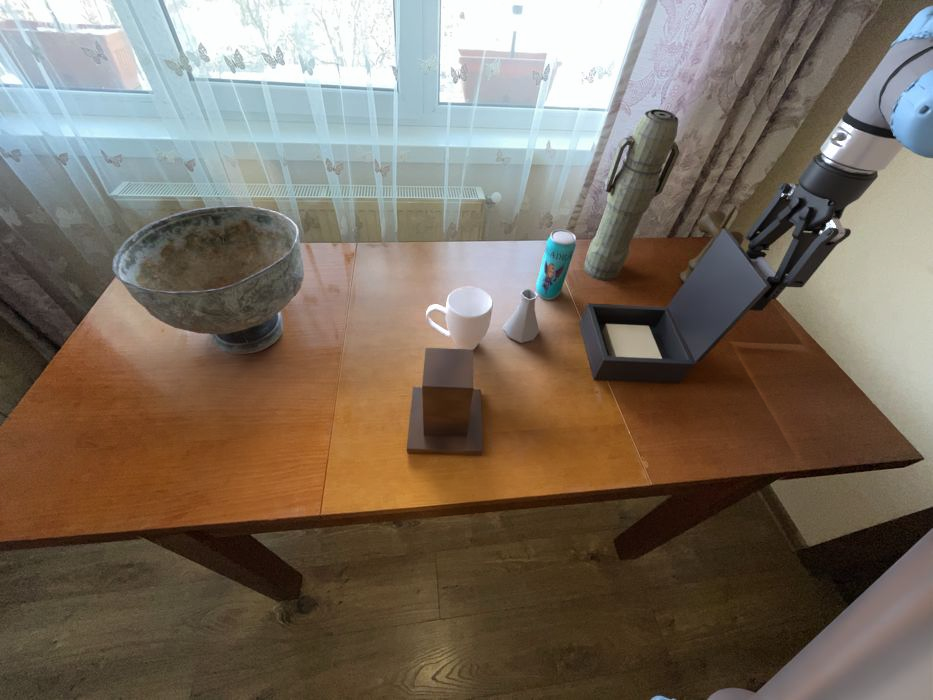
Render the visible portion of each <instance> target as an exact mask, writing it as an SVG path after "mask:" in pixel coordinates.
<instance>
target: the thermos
mask: <svg viewBox="0 0 933 700" xmlns="http://www.w3.org/2000/svg"><path fill="white" fill-rule="evenodd" d="M678 129H679V118H678V116H676V114H675V113H673V112H671V111H669V110H665V109H660V108H659V109H658V108H657V109H656V108H653V109H650V110H647V111H645V112H644V113H643V115H642V116H641V118H640V119H639V121H638V122H637V124H636V125H635V127H634V129H633V132H632V135H628V137H624V138H623V139H622V140H621V141H620V142H619V143H618V144H617V146H616V149H615V152H614V155H613V159H612V161H611V164H610V167H609V170H608V173H607V176H606V179H605V183H604V187H603V190H604V191H605V192H606V193H607V196H606V201H607V203H606V205H605V209H604V211H603V214H602V217H601V220H600V222H599V225H598V228H597V231H596V234H595V236H594V237H593V238H592V240H591V241H590V244H589V246H588V250H587V252H586V255H585V261H584V263H583V270H584V272H585V273H587V274H588V276H590V277H592V278H593V279H597V280H600V281H612V280H615V279H617V277H618V276H619V274H620V271H621V269H623V266H624V265H625V262H626V260H627V257H628V256H629V253H630V245H631V242H632V240H633V238H634V236H635V233H636V231H637V229H638V227H639V224H640V222H641V219H642V217H643V215H644V214H645V213H646V212H647V211H648V209H649V207H650V205H651V203H652V200H654V198H655V197H658V196H659V195H660V194H662V193H663V190H664V188H665V186H666V184H667V182H668V179H669V178H670V175H671V173H672V171H673V169H674V167H675V164H676V162H677V160H678V158H679V156H680V150H679V149H680V148H679V146H678V144H677V142H676V141H675V140H676V138H677V135H678ZM626 148H627V149H626ZM625 149H626V152H625V158H624V159H623V160H622V163H621V166H620V167H619V165H620V162H621V159H622V156H623V153H624V151H625ZM663 165H664V167H663ZM618 167H619V169H618Z"/></svg>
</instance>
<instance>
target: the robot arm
mask: <svg viewBox="0 0 933 700" xmlns="http://www.w3.org/2000/svg"><path fill="white" fill-rule="evenodd" d="M903 148H905V149H907V150H909V151H910V152H912V153H913V154H915V155H917V156H920V157H924V158H926V159H927V158H928V159H933V5H930V6H926V7H925V8H923V9H921V10H920V11H919V12H918V13H916V14H915V16H914V17H912V20H911V21H910V22H909V23H908V24H907V26H906V27H905V28H904V29H903V31H902V32H901V33H900V35H898V37H897V38H896V39H895V40H894V41H893V42H892V43H891V45H890V46H889V50H888V51H887V53H885V55H884V57H883V58H882V59H881V61H880V62H879V64H878V66H877V67H876V68H875V70H874V71H873V73H872V74H871V76H869V78H868V80H867V81H866V83H864V85H863V87H862V88H861V90H860V91H859V92H858V94H857V95H856V97H855V98H854V100H853V101H852V103H851V104H850V105H849V107H848V108H847V110H846V111H845V113H844V114H843V115H842V116H841V119H840V120H839V121H838V123H837V124H836V126H835V127H834V128H833V129H832V131H831V132H830V134H829V135H828V136H827V138H826V139H825V141H824V142H823V144H822V145H821V146H820V148H819V149H820V152H819V153H818V154H816V155H814V156H813V157H812V159H811V160H810V161H809V163H808V164H807V166H806V167H805V169H804V170H803V171H802V173H801V174H800V176H799V177H798V183H788V182H781V183H780V184H779V185H778V188H777V190H776V192H775V194H774V196H773V198H772V199H771V201H770V202H769V203H768V205H767V206H766V208H765V209H764V210H763V211H762V213H761V214H760V215H759V217H758V218H757V219H756V220H755V222H754V223H753V225H752V226H751V228H750V229H749V230H748V232H746V234H745V236H744V237H745V240H746V241H748V242H749V243H748V245H747V248H748V249H747V250H746V251H745V252H746V254H747V255H748V256H749V258H750V259H757V258H759V257H764V258H766V256H767V253H766V252H765V251H770V246H771V245H773V244H774V243H775V242H776V241H778V240H779V239H780V238H781V237H782V236H784V235H785V234H786V233H787V232H788V231H790V230H791V229H792V228H793V227H794V229H793V230H792V233H791V236H792V240H791V242H790V243H789V246H788V248H787V249H786V252H785V254H784V256H783V257H782V259H781V262H780V264H779V266H778V268H777V270H776V274H775V276H774V277H768V278H767V279H766V280H767V281H768V283H769V284H770V285H771V287H770V288H769V289H768V290H767V292H766V293H765V294H764V295H763V296H762V297H761V298H760V299H759V300H758V301H757V302H756V303H755V304H754V305H753V306H752V307H751V308H750V310H749V311H763V310H765V308H766V307H767V305H768V304H769V303H770V302H771V301H772V300H776V299H777V298H778V297H779V296H780V295H781V294H782V293H783V291H785V289H786V288H804V287H805V285H806V284H807V282H808V281H809V280H810V279H811V277H812V276H813V275H814V274H815V273H816V271H818V269H819V268H820V266H821V265H822V264H823V263H824V261H826V259H827V258H828V256H830V254H831V253H832V251H834V249H835V248H836V247H837V246H838V245H839V244H840V243H842V242H843V241H845V240H846V239H847V238H848V237H850V235H851V233H852V230H851V229H850V228H848V227H847V228H846V227H843V225H842V223H841V221H840V219H841V218H842V216H843V213H844V211H845V209H846V208H847V207H848V206H849V205H851V204H852V203H854V202H856V201H858V200H859V199H860V198H861V197H862V196H863V195H864V193H865V192H866V191H867V190H868V189H869V188H870V187H871V185H872V184H873V183H874V182H875V181H876V180H877V178H878V176H879V174H878V173H879V171H883V170H886V168H887V167H888V166H889V165H890V164H891V163H892V161H893V160H894V159H895V158H896V157H897V155H898V154H899V153H900V151H901V150H902V149H903ZM650 700H677V699H676V698H671V699H670V698H668V697H666V696H663V695H655V696H654V697H652V698H650ZM706 700H933V527H932V528H931V529H930V530H929V531H927V533H926V534H925V535H923V536H922V537H921V538H920V539H919V540H918V541H917V542H915V544H914V545H912V546H911V548H910V549H908V550H907V551H906V552H905V553H904V554H903V555H902V556H901V557H900V558H899V559H898V560H896V561H895V562H894V564H892V565H891V566H890V567H889V568H888V569H887V570H886V571H885V572H884V573H883V574H881V576H880V577H879V578H877V579H876V580H874V582H873V583H872V584H871V585H870V586H869V587H867V589H865V590H864V592H863V593H861V594H860V595H859V596H858V597H857V598H856V599H855V600H854V601H853V602H851V603H850V604H849V605H848V606H847V607H846V608H845V609H844V610H843V611H842V612H841V613H840V614H839V615H837V617H835V618H834V620H832V621H831V622H830V623H829V624H828V625H827V626H826V627H825V628H824V629H822V631H820V633H818V635H817V634H816V636H815V637H814V638H813V639H812V640H811V641H809V643H807V645H806V646H804V647H803V648H802V649H801V650H800V651H799V652H798V653H797V654H796V655H795V656H793V657H792V659H790V660H789V661H788V662H787V663H786V664H785V665H784V666H783V667H782V668H780V669H779V670H778V672H776V674H774V676H772V677H771V678H770V679H769V680H768V681H767V682H765V684H764V685H763V686H761V687H760V689H759V690H757V691H756V692H754V691H752V690H748V689H744V688H741V687H740V688H738V687H728V688H727V687H726V688H722V689H718V690H716V691H715V692H713V693H712V694H711V695H710V696H708V697H707V699H706Z"/></svg>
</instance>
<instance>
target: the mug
mask: <svg viewBox="0 0 933 700" xmlns="http://www.w3.org/2000/svg"><path fill="white" fill-rule="evenodd" d="M493 304H494V303H493V299H492V297H491V296H490V294H489V293H488V292H487V291H486V290H483V289H482V288H479V287H476V286H461V287H458V288H455V289H454V290H452V291H451V292H450V293H449V294H448V295H447V298H446V306H442V305H440V304H437V303H435V304H431V305H430V306H429V307H428V308H427V310H426V312H425V313H426V314H425V319H426V322H427V324H428V326H429V327H431V328H432V329H433V330H434V331H436V332H437V333H439V334H441V335H443V336H444V337H446V338H451V339H452V341H453V343H454V345H455V347H456V349H470V350H473V351H474V350H475V349H476V347H477V346H478V345H479V344H480V342H481V341H482V339H484V337H485V336H486V334H487V332H488V330H489V327H490V324H491V320H492V313H493ZM434 311H436V312H439V313H441V314H442V315H444V318H445V324H446V328H447V329H445V328H443V327H442V326H440V325H438V324H437V323H435V322H434V321H433V320H432V319H431V317H430V314H431V313H432V312H434Z"/></svg>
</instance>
